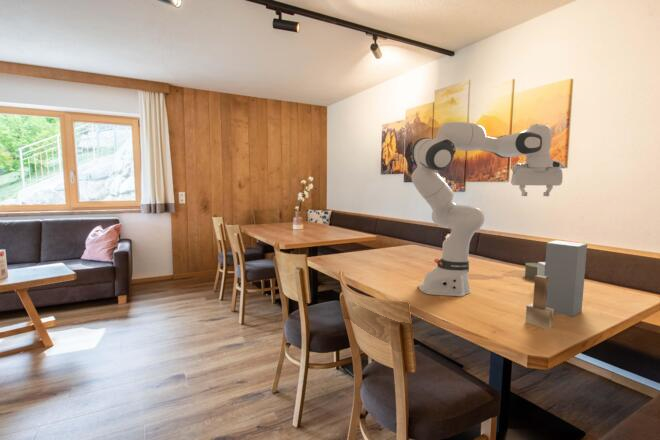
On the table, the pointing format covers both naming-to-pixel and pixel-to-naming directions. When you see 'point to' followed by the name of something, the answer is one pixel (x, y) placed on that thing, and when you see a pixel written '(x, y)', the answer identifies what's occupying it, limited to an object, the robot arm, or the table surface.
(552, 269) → the pedestal
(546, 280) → the mallet
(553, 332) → the table surface
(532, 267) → the olive green block
